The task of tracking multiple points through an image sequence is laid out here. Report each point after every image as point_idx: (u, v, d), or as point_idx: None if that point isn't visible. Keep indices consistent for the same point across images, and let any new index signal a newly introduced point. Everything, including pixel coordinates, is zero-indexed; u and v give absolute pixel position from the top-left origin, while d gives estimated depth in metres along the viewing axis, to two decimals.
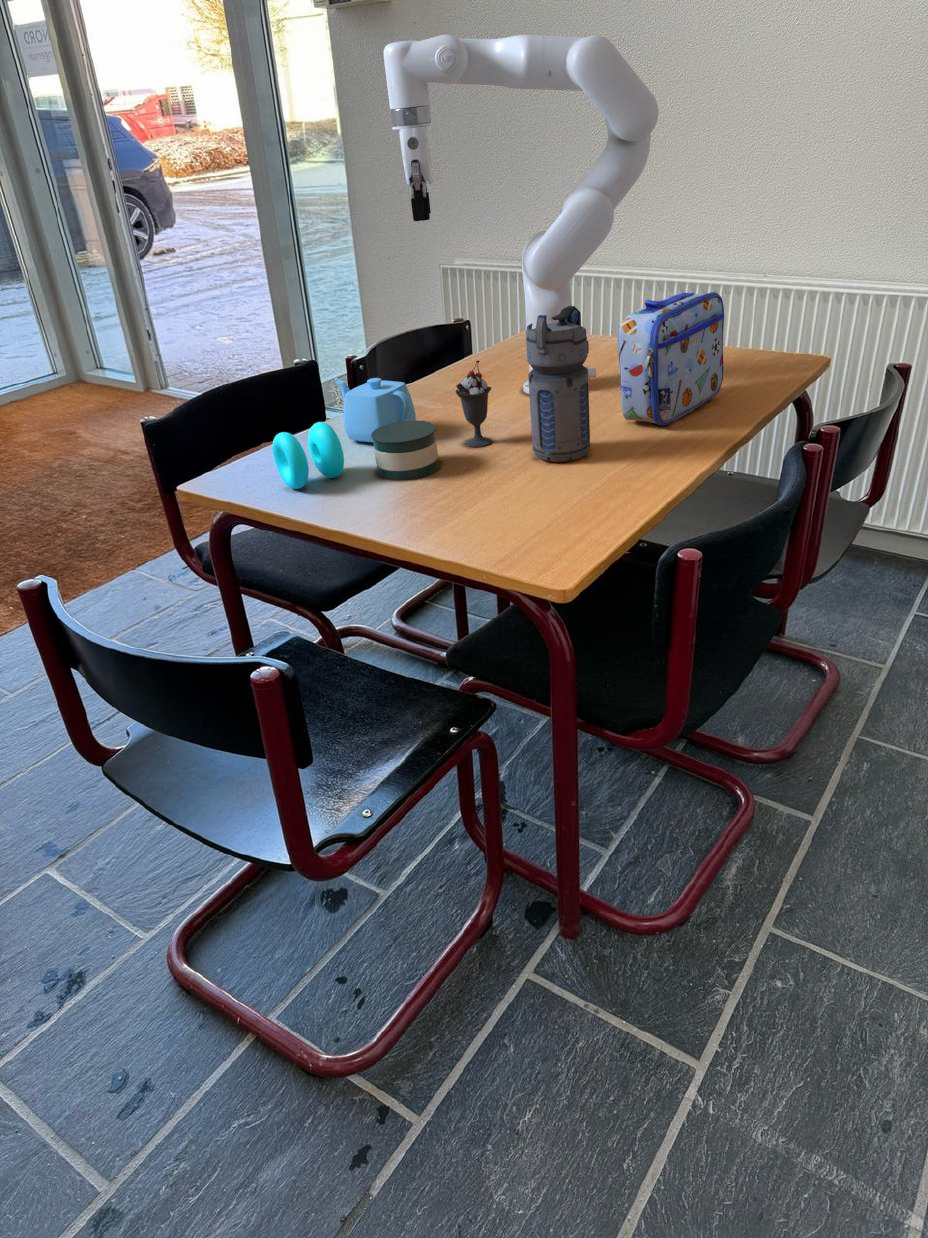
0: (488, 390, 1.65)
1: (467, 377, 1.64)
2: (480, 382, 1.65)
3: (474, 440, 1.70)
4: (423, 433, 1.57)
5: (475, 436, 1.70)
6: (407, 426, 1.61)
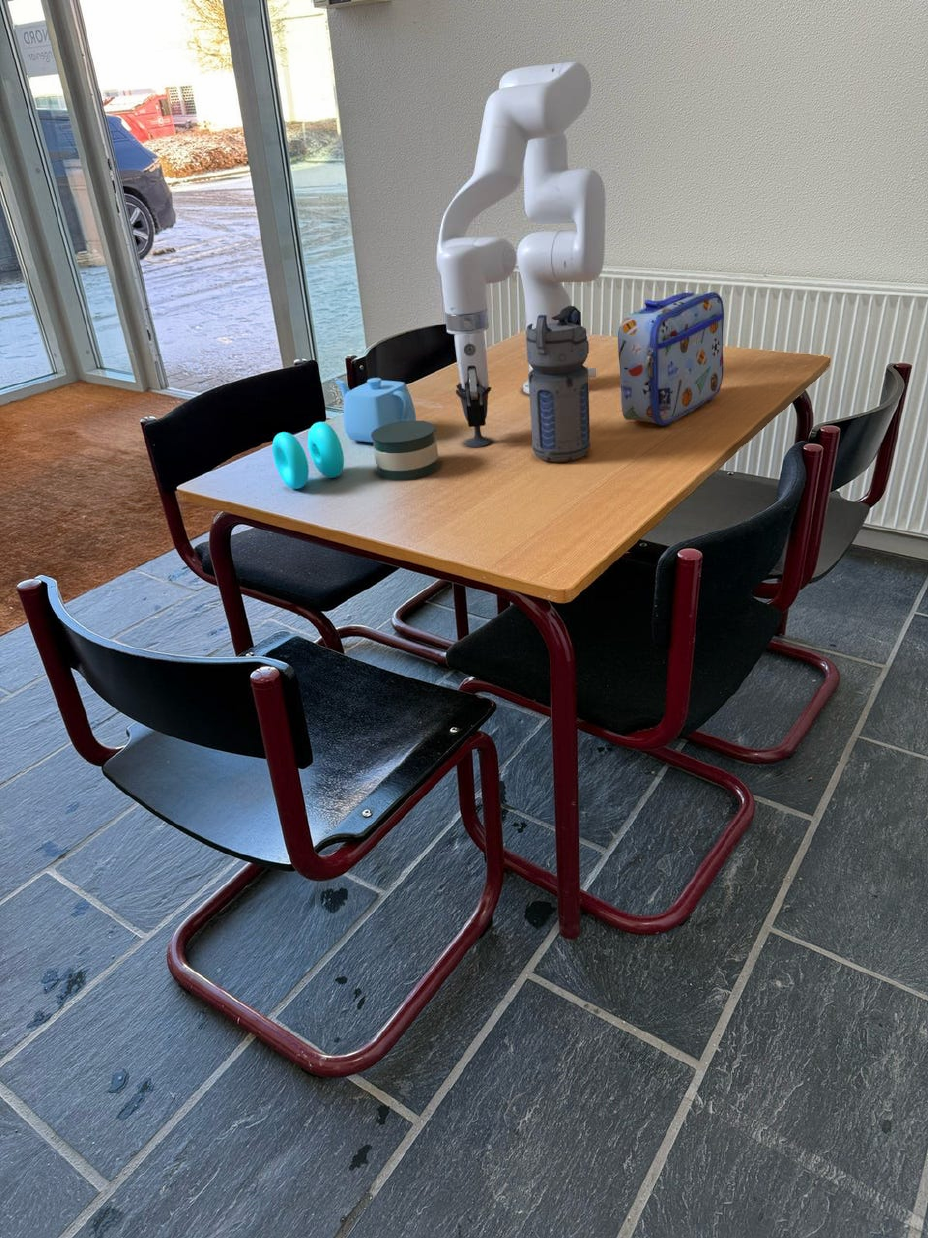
0: (488, 390, 1.65)
1: None
2: None
3: (474, 440, 1.70)
4: (423, 433, 1.57)
5: (475, 436, 1.70)
6: (407, 426, 1.61)
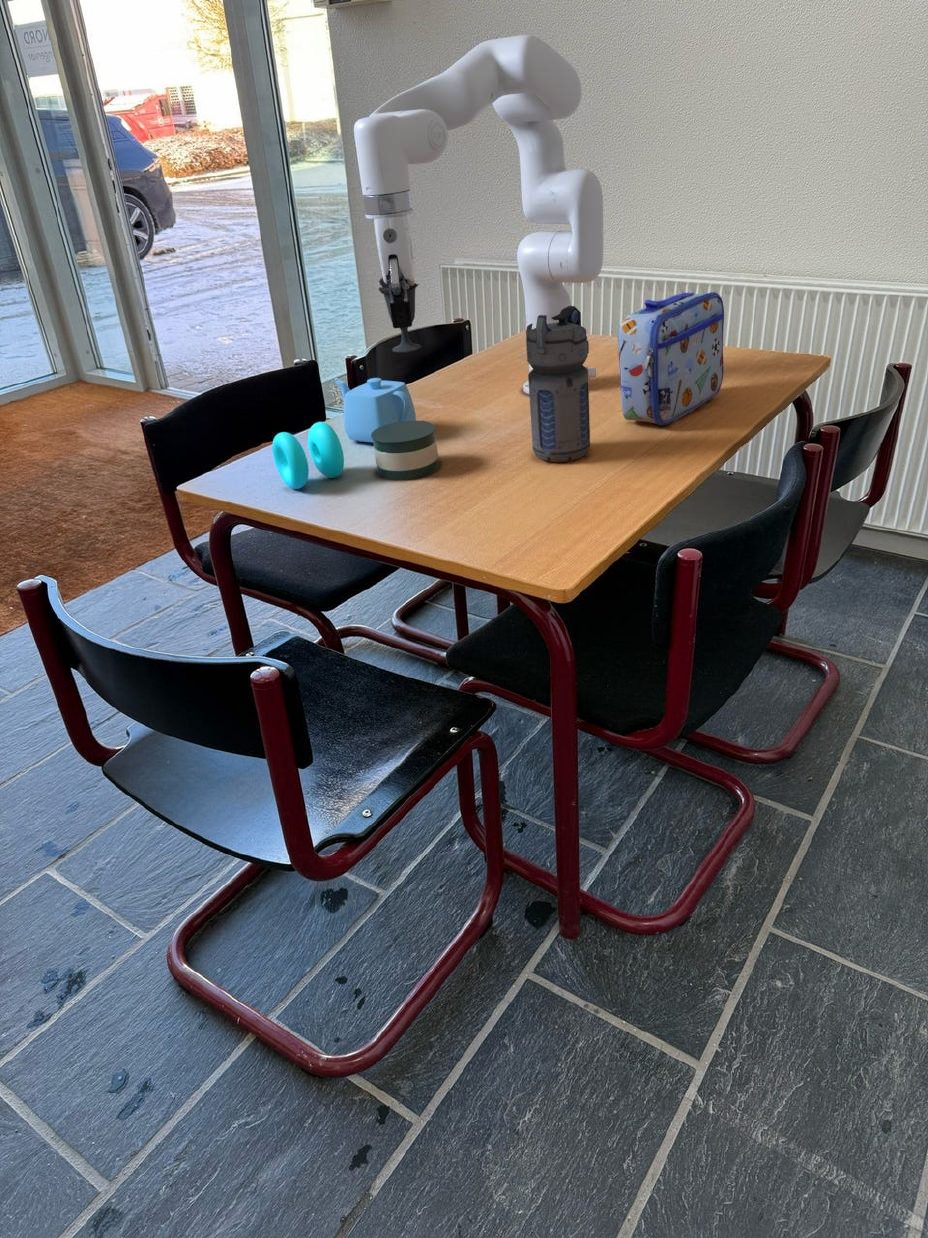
0: (414, 286, 1.48)
1: None
2: None
3: (401, 345, 1.53)
4: (423, 433, 1.57)
5: (402, 341, 1.53)
6: (407, 426, 1.61)
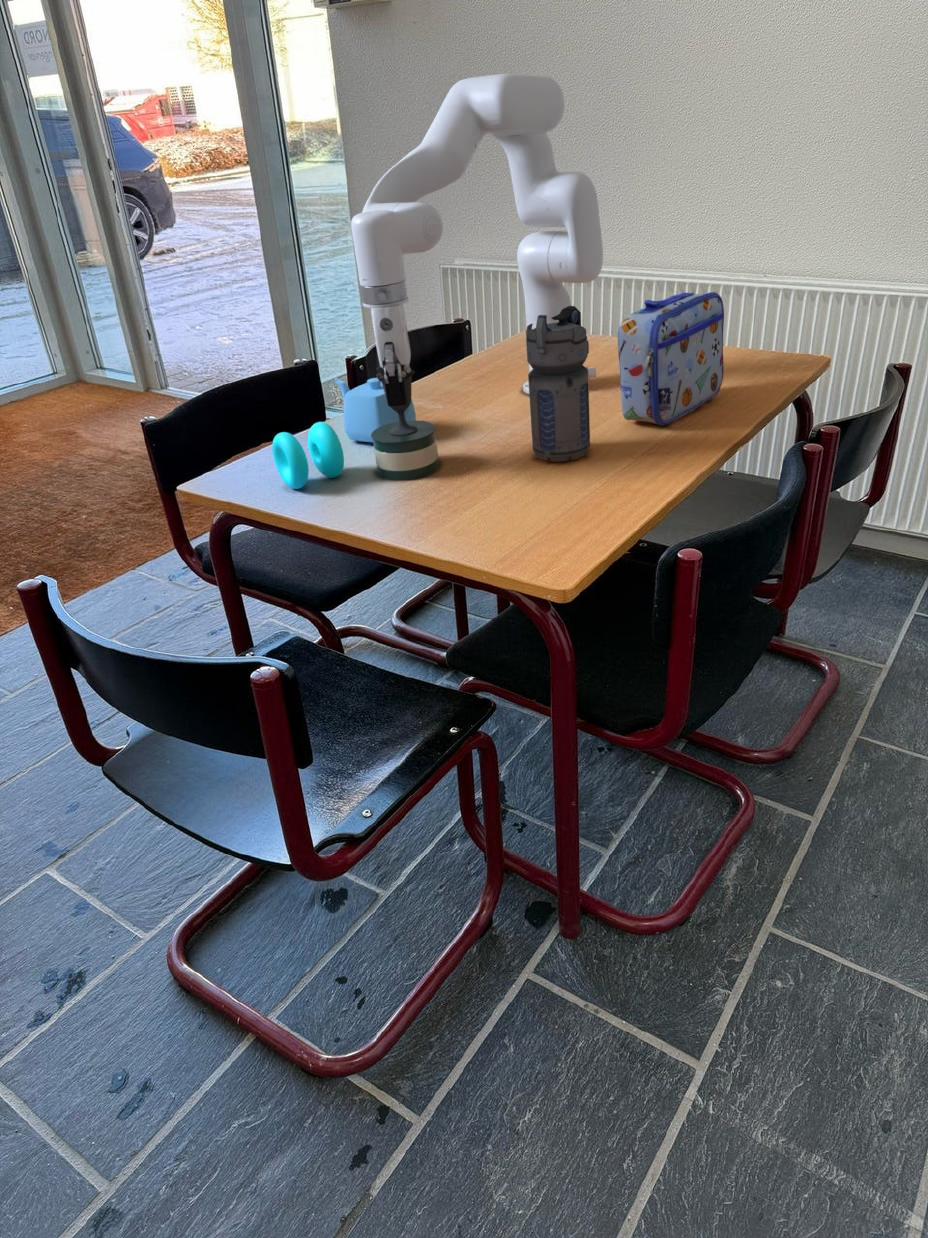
0: (411, 374, 1.53)
1: None
2: (402, 365, 1.53)
3: (398, 428, 1.58)
4: (423, 433, 1.57)
5: (399, 424, 1.58)
6: None
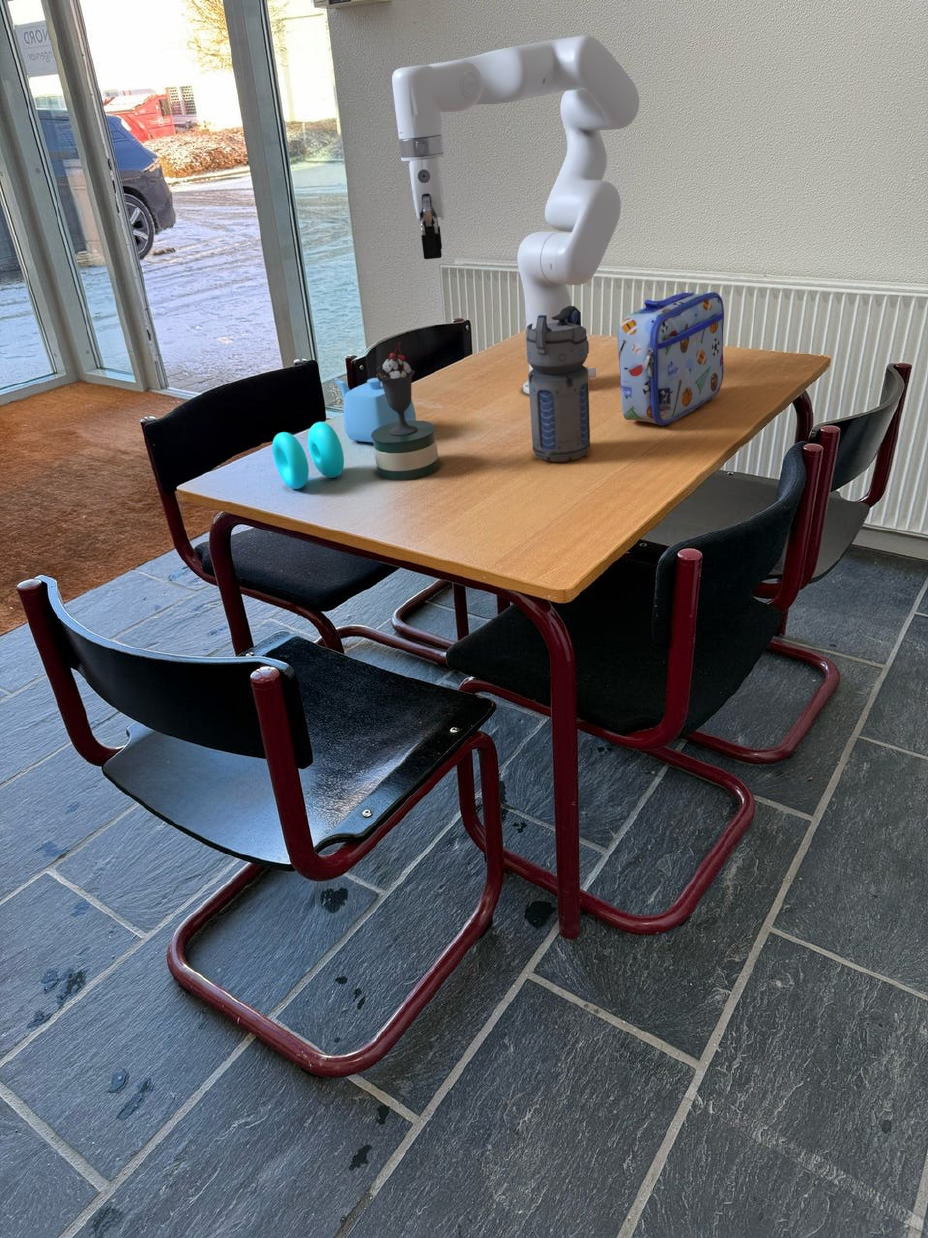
0: (411, 374, 1.53)
1: (388, 360, 1.53)
2: (402, 365, 1.53)
3: (398, 428, 1.58)
4: (423, 433, 1.57)
5: (399, 424, 1.58)
6: None
